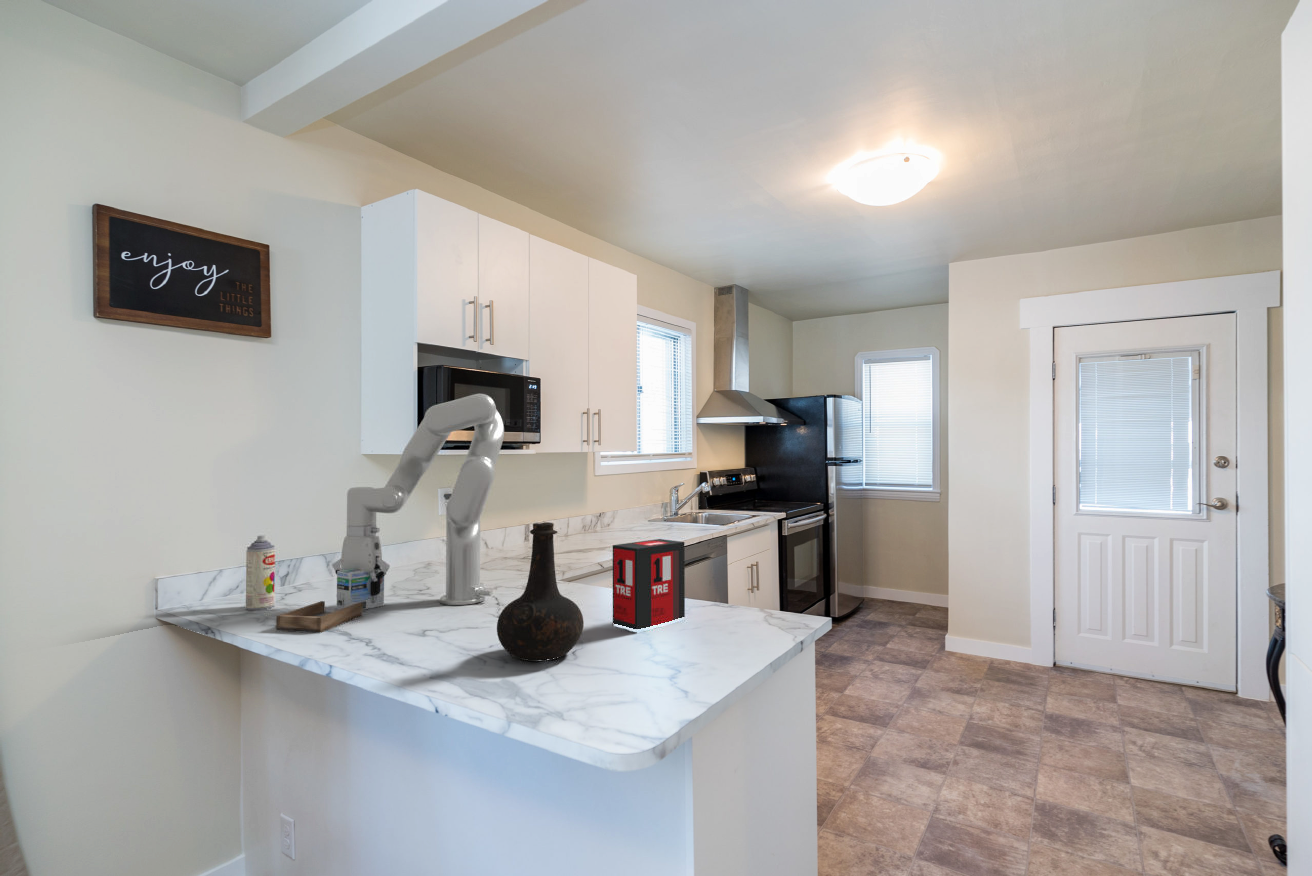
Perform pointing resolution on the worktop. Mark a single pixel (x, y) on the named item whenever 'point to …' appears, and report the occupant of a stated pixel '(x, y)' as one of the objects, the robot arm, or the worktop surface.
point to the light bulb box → (357, 590)
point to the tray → (316, 618)
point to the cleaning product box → (648, 583)
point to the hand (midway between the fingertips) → (360, 594)
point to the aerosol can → (260, 574)
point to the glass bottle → (540, 608)
